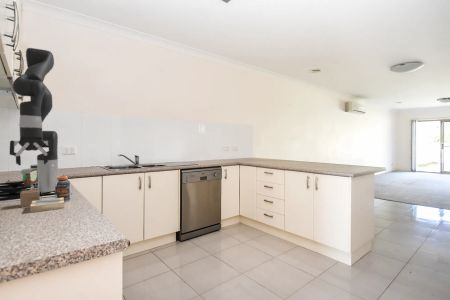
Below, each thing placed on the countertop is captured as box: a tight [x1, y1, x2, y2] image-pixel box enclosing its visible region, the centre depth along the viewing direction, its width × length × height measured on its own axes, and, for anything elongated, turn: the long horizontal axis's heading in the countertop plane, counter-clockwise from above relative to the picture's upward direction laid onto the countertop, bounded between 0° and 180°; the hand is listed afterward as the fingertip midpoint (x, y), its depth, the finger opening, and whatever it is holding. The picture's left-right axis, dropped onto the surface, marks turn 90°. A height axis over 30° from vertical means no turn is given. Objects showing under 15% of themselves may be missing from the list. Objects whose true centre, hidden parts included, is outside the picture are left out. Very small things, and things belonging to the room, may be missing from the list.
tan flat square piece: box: [29, 197, 65, 213], centre depth 101 cm, size 10×11×3 cm
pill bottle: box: [54, 175, 72, 202], centre depth 112 cm, size 6×6×11 cm
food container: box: [20, 167, 38, 187], centre depth 150 cm, size 12×6×10 cm, turn 21°
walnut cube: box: [19, 189, 41, 208], centre depth 105 cm, size 6×6×6 cm
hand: (32, 164), depth 104 cm, fingers open, 8 cm apart
